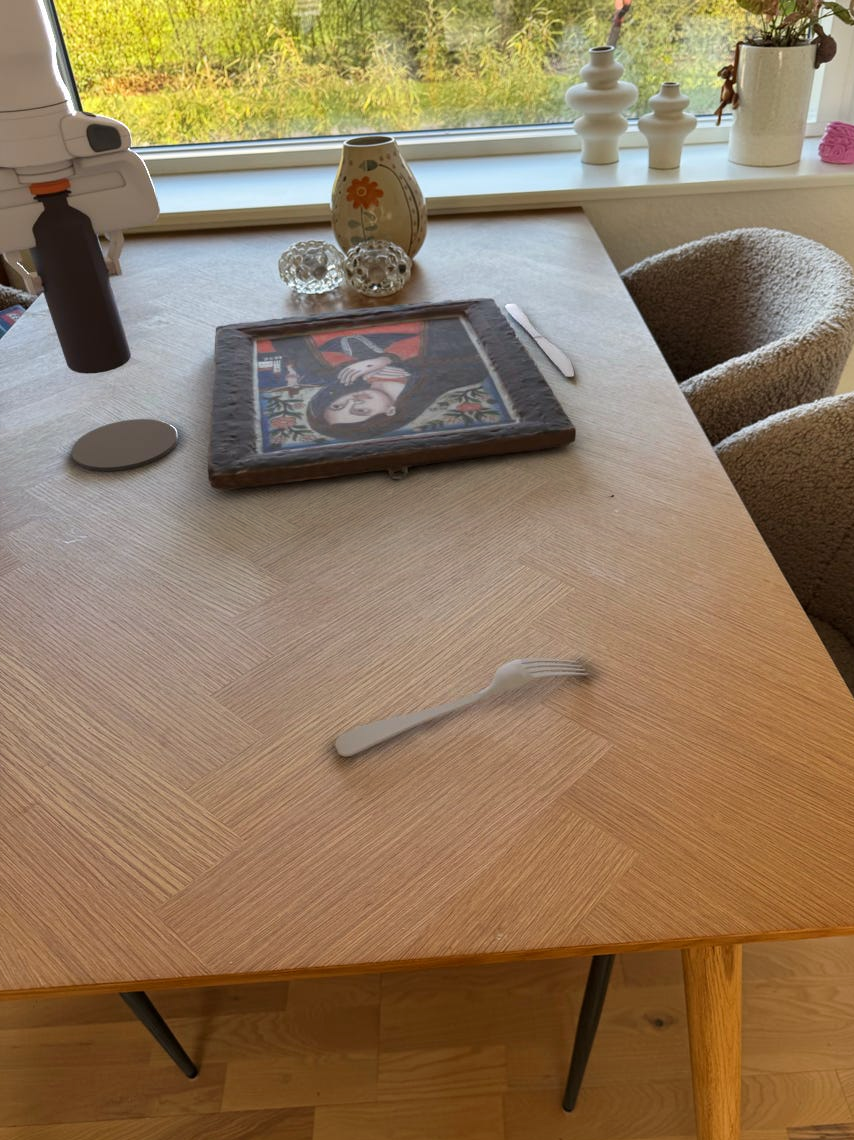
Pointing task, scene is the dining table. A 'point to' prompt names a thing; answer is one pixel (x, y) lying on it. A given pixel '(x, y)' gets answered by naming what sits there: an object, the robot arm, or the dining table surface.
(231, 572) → the dining table surface
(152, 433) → the coaster
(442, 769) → the dining table surface
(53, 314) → the vinegar
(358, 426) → the religious icon
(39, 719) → the dining table surface
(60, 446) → the dining table surface
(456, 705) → the fork
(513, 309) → the butter knife
